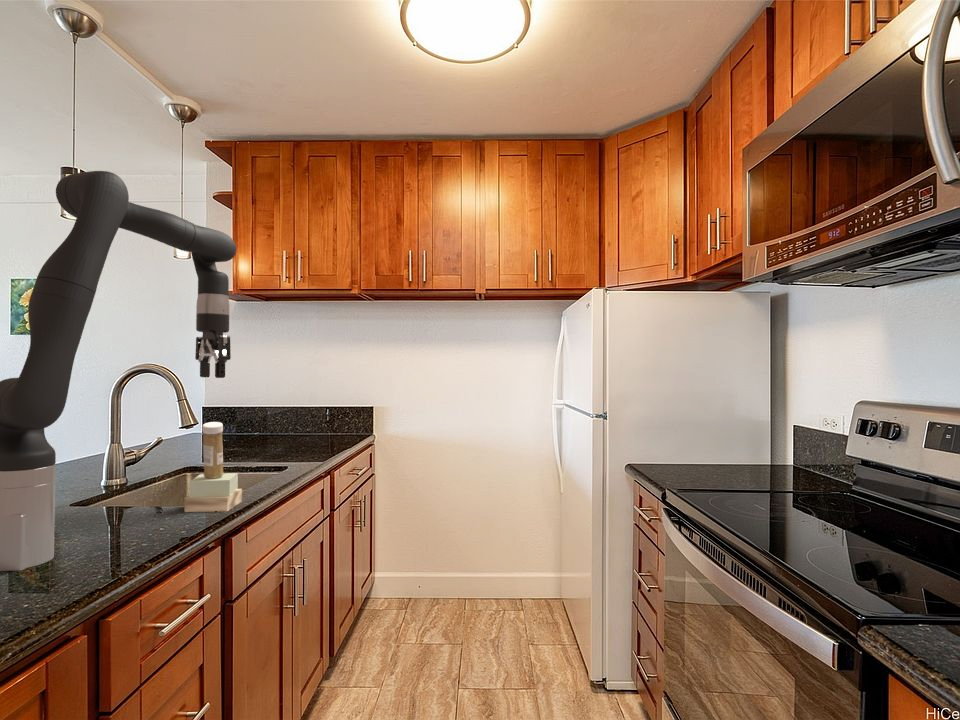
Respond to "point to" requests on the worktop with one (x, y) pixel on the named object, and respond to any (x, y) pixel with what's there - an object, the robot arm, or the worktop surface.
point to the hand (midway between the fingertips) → (212, 377)
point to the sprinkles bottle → (213, 449)
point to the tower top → (214, 486)
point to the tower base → (213, 503)
